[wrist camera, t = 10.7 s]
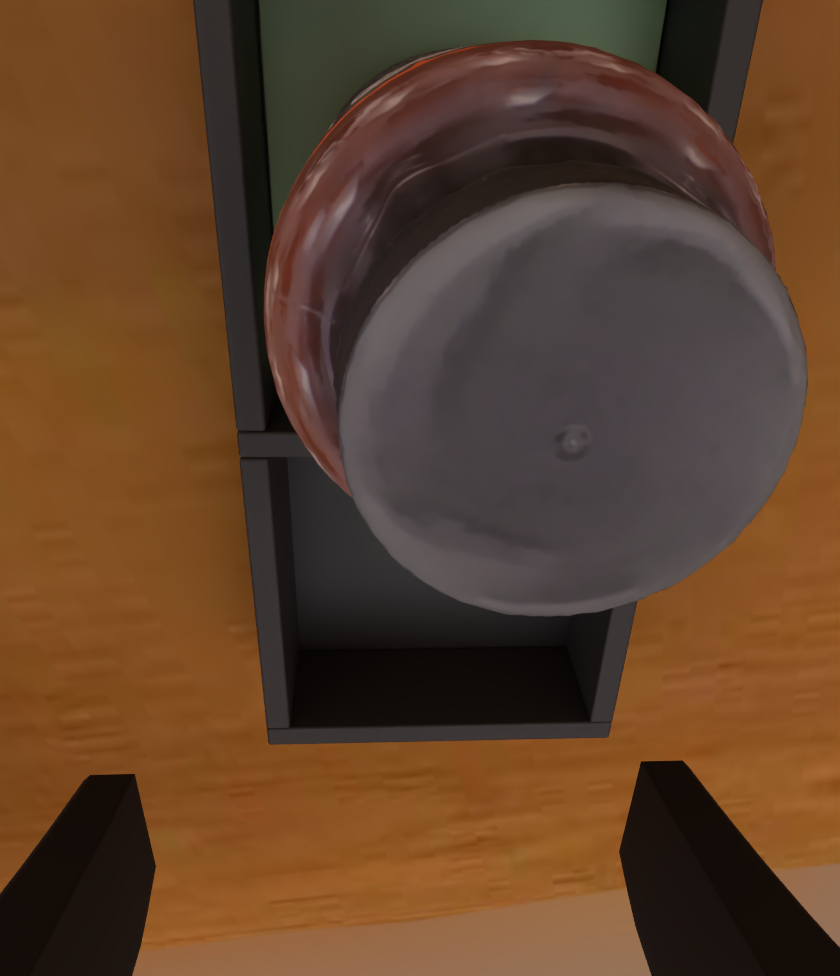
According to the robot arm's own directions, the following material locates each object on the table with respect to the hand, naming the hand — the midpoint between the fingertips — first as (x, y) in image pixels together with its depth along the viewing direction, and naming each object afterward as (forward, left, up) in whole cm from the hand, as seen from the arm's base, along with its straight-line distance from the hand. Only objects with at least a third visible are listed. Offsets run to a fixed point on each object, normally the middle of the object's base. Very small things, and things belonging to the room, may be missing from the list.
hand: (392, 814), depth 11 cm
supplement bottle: (+7, -1, -10) cm, 12 cm away
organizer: (+3, -2, -10) cm, 11 cm away
